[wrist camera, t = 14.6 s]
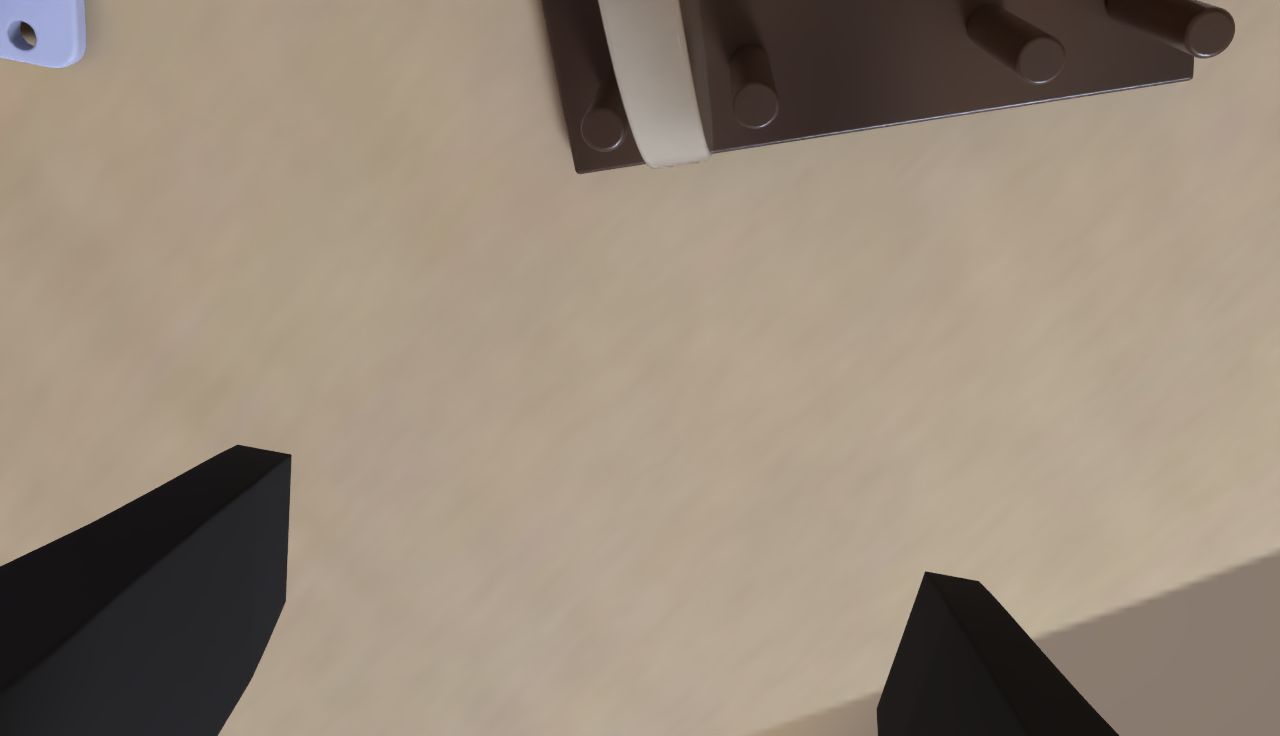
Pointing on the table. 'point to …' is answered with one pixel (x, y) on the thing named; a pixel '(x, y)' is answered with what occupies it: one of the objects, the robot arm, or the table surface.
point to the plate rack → (882, 63)
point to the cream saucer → (662, 77)
